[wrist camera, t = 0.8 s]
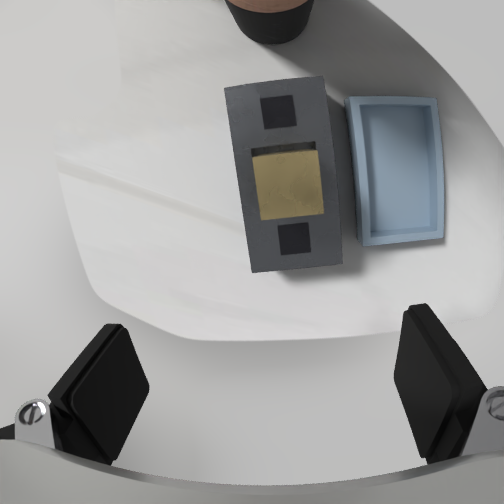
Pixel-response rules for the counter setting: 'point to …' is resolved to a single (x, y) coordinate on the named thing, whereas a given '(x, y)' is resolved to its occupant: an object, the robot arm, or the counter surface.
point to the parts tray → (396, 168)
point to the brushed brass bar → (288, 184)
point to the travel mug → (271, 18)
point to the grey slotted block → (277, 140)
